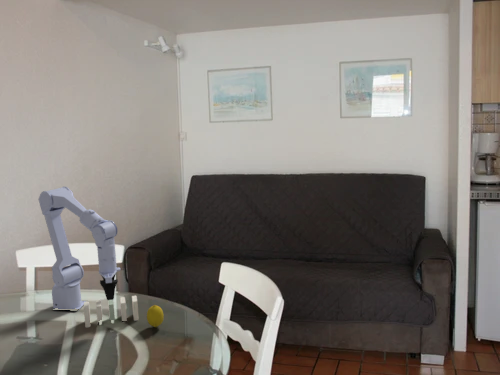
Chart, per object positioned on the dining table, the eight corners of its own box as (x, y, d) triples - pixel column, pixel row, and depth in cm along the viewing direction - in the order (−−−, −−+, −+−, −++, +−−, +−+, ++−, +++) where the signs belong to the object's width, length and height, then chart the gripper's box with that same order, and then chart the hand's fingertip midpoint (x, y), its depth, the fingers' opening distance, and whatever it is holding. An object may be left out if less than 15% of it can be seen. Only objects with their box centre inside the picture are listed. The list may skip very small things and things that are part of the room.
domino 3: (110, 324, 181) (108, 305, 179) (109, 317, 185) (108, 299, 184) (115, 323, 181) (113, 304, 180) (114, 317, 186) (113, 298, 184)
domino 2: (97, 325, 180) (96, 306, 178) (97, 319, 184) (96, 300, 183) (102, 325, 180) (101, 306, 179) (102, 318, 185) (101, 300, 183)
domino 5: (134, 320, 183) (132, 301, 181) (133, 314, 187) (131, 296, 186) (138, 320, 183) (137, 301, 182) (137, 313, 188) (136, 295, 186)
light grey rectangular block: (85, 327, 179) (83, 308, 177) (85, 321, 183) (84, 302, 182) (90, 326, 179) (88, 307, 178) (90, 320, 184) (88, 301, 182)
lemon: (148, 324, 180) (146, 302, 178) (164, 323, 181) (163, 301, 179) (146, 331, 175) (145, 309, 173) (163, 330, 175) (162, 308, 173)
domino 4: (122, 322, 182) (120, 303, 180) (121, 316, 186) (120, 297, 185) (126, 321, 182) (125, 302, 181) (126, 315, 187) (124, 296, 185)
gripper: (120, 263, 172) (123, 302, 175) (118, 249, 186) (121, 285, 189) (97, 265, 171) (101, 305, 174) (97, 251, 184) (100, 288, 187)
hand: (110, 295), depth 181 cm, fingers open, 7 cm apart
